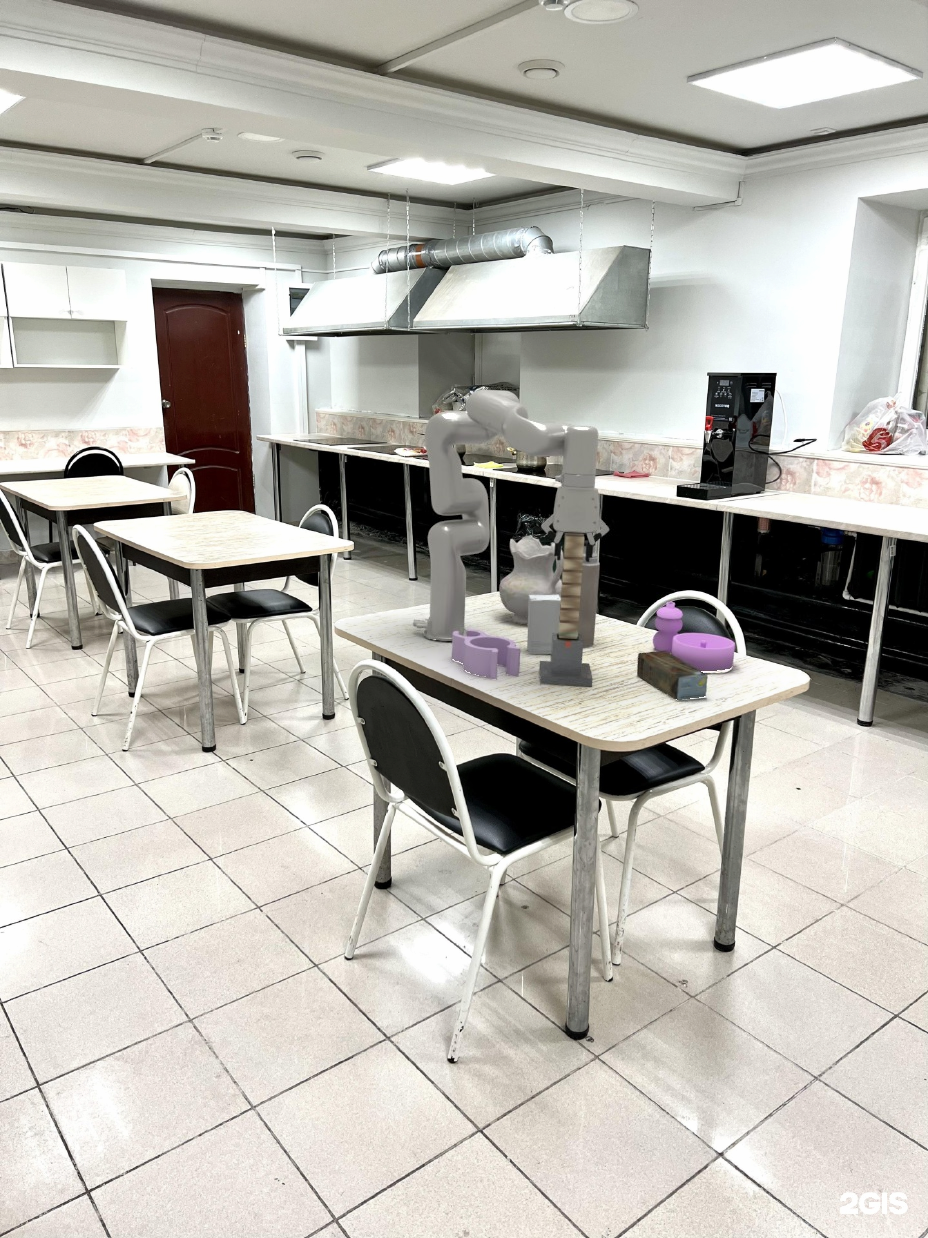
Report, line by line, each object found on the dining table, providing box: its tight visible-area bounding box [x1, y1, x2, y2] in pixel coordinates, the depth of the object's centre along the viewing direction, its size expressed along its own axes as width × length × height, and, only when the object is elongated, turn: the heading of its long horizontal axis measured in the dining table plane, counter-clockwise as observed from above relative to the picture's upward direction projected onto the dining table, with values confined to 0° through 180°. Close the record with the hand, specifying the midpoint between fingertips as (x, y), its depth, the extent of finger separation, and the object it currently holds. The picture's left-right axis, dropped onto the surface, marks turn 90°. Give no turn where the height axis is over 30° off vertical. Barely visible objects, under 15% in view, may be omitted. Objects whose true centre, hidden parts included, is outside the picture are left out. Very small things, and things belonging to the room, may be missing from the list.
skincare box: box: [526, 595, 561, 655], centre depth 236 cm, size 8×6×15 cm
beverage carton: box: [636, 651, 708, 701], centre depth 212 cm, size 8×19×7 cm, turn 18°
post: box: [558, 532, 585, 639], centre depth 212 cm, size 4×4×24 cm
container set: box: [652, 601, 736, 671], centre depth 234 cm, size 25×15×13 cm, turn 28°
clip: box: [451, 628, 521, 680], centre depth 222 cm, size 20×12×7 cm, turn 33°
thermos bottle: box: [578, 540, 600, 648], centre depth 243 cm, size 8×8×28 cm
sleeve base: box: [538, 632, 594, 688], centre depth 216 cm, size 12×12×10 cm
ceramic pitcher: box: [498, 535, 564, 625], centre depth 266 cm, size 22×20×25 cm
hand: (572, 559), depth 210 cm, fingers open, 6 cm apart
